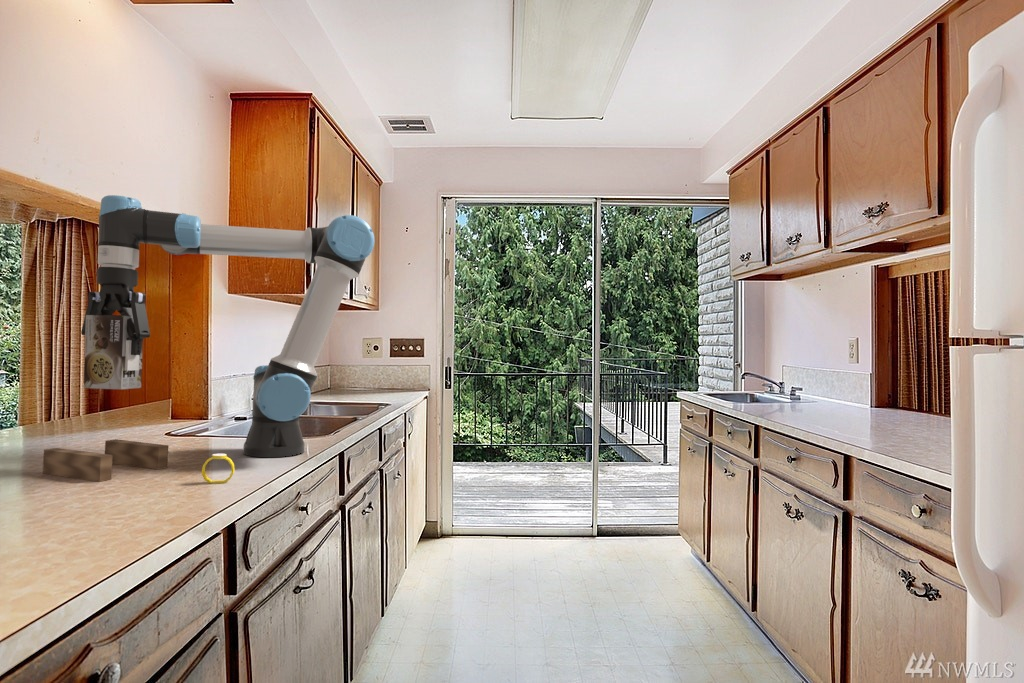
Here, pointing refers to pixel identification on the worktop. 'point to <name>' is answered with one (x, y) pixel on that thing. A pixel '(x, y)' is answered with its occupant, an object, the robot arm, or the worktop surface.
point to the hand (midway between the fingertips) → (113, 369)
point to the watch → (218, 456)
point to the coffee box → (108, 354)
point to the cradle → (104, 459)
